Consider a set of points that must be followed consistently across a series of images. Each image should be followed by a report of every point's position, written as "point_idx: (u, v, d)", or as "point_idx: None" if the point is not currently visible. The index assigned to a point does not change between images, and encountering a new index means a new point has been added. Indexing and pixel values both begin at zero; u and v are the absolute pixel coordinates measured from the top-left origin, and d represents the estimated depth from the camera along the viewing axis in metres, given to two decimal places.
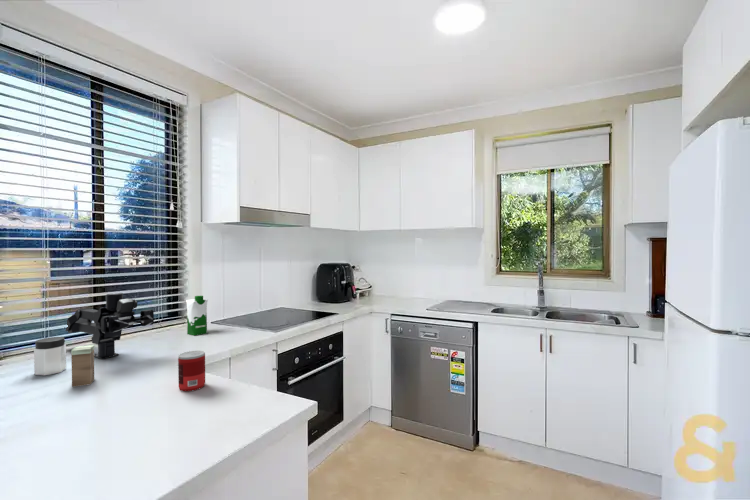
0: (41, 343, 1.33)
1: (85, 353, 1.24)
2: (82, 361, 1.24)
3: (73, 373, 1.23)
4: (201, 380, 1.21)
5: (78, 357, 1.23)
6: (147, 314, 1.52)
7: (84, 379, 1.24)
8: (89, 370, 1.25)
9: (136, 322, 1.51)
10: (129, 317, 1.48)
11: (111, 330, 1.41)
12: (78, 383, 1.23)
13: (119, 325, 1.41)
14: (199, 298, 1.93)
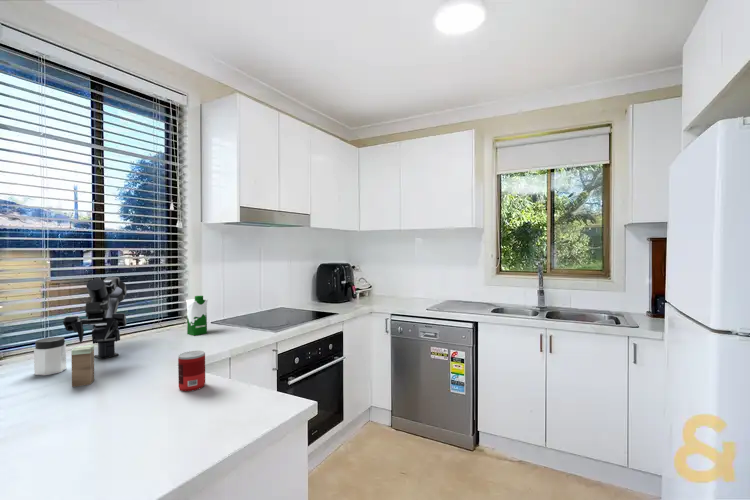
0: (41, 343, 1.33)
1: (85, 353, 1.24)
2: (82, 361, 1.24)
3: (73, 373, 1.23)
4: (201, 380, 1.21)
5: (78, 357, 1.23)
6: (109, 324, 1.40)
7: (84, 379, 1.24)
8: (89, 370, 1.25)
9: None
10: (96, 319, 1.41)
11: (76, 331, 1.39)
12: (78, 383, 1.23)
13: None
14: (199, 298, 1.93)
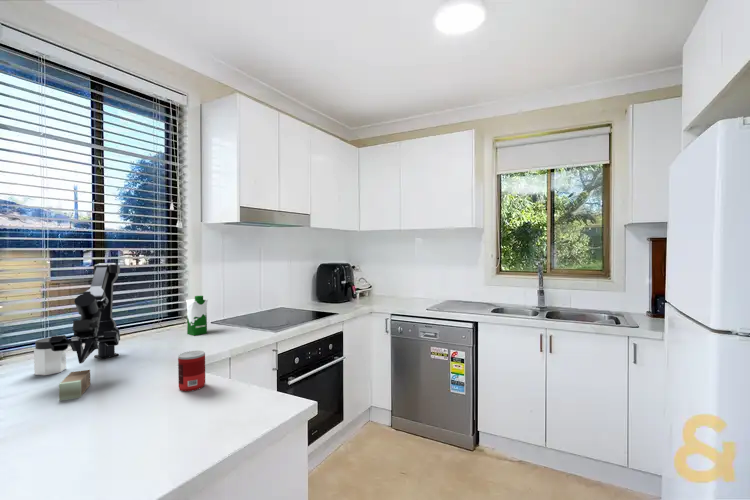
0: (41, 343, 1.33)
1: None
2: None
3: None
4: (201, 380, 1.21)
5: None
6: (87, 344, 1.26)
7: None
8: (85, 389, 1.20)
9: None
10: (86, 338, 1.28)
11: (75, 350, 1.27)
12: None
13: None
14: (199, 298, 1.93)
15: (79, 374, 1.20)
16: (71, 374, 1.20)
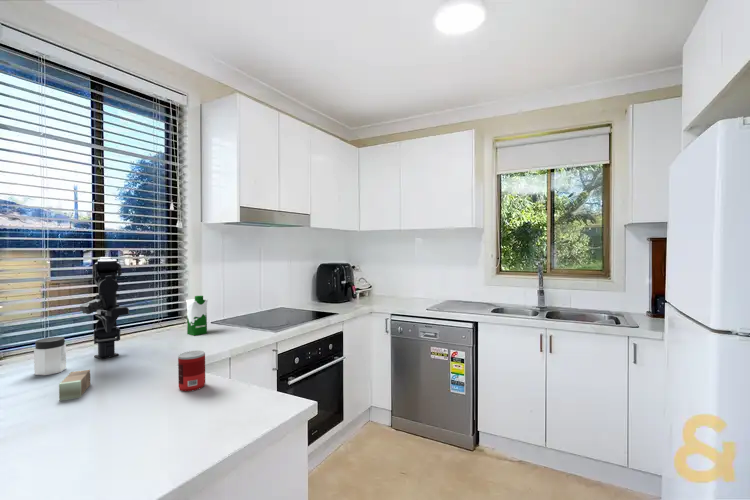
0: (41, 343, 1.33)
1: None
2: None
3: None
4: (201, 380, 1.21)
5: None
6: (104, 318, 1.42)
7: None
8: (85, 389, 1.20)
9: None
10: None
11: None
12: None
13: None
14: (199, 298, 1.93)
15: (79, 374, 1.20)
16: (71, 374, 1.20)
